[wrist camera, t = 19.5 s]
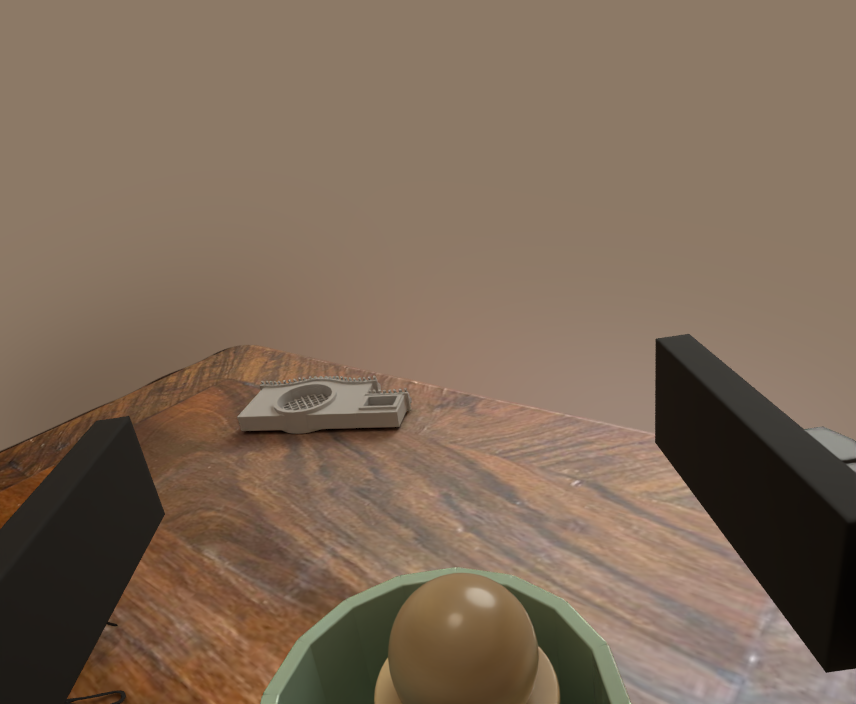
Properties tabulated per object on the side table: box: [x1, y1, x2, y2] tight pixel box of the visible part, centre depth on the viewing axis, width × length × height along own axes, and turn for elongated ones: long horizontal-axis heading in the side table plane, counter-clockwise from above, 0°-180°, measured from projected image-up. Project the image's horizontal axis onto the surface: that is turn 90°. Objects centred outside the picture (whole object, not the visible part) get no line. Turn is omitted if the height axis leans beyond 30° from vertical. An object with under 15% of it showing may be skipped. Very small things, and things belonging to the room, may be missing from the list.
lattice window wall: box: [237, 376, 411, 434], centre depth 45 cm, size 12×2×6 cm
